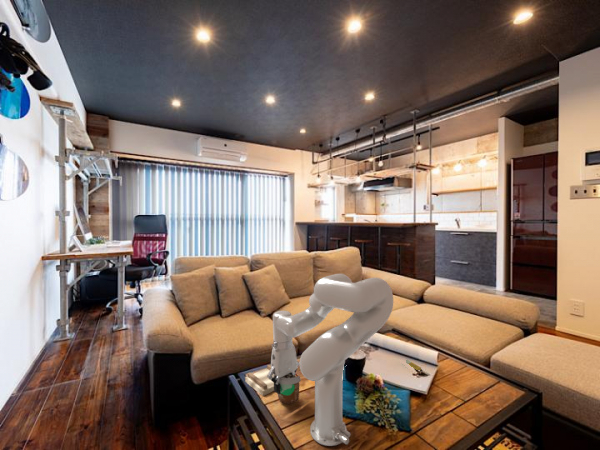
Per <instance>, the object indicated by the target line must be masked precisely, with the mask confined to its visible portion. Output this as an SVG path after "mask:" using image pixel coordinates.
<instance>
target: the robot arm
mask: <svg viewBox="0 0 600 450" xmlns="http://www.w3.org/2000/svg"><path fill="white" fill-rule="evenodd" d="M308 299H309V300H308V303H309V306H308V307H307V308H306V309H305V310H303V311H300V312H297V313H295V314H292V313H291V312H290V311H288V310H278V311H275V312H273V314H272V334H273V335H272V336H273V340H272V341H273V343H272V344H271V345H270V346H271V348H272V350H271V357H270V358H271V359H270V365H271V370H270V371H269V373H268V375H267V378H269V379H270V380H271V381H272V382H274V391H273V392H275V393H276V394H277V395H278V394H280V383H279V380H280V377H283V376H285V375H287V374H289V373H291V374H293V375H294V376H297V374H296V373H297V371H298V368H299V371H300V372H301V374H302V375H303V377H304V378H305V379H307V380H309V381H311V382H314V420H313V421H312V422H311V424H310V428H309V430H310V431H309V433H310V435H311V437H312V439H313V440H314V442H315V441H316V442H317V443H318V444H320V445H322V446H326V447H327V446H328V447H333V446H337V445H340V444H345V445H349V443H350V437H351V432H349V431H348V429H347V427H346V422H345V421H343V387H344V386H343V384H344V383H343V382H344V381H343V370H344V364H345V363H346V360H347V359H348V358H350V357H352V355H353V354H355V353H356V352H357V351H358V350H359V348H361V347H362V345H363V344H365V343H366V342H367V341H368V340H370V339H371V338H372V337H373V336H374V335H375V334H376V333H377V332H379V331H380V330H381V328H383V326H384V325H385V324H386V323H387V322H388V319H389V318H390V317H391V315H392V312H393V309H394V296H393V290H392V288H391V286H390V285H389V283H388V282H387V281H386V280H385V279H382V278H380V277H369V278H366V279H363V280H359V281H357V282H353V281H352V279H351V278H350V277H349V276H348V275H346V274H344V273H334V274H330V275H327V276H323V277H322V278H320V279H318V280H317V281H316V283H315V284H314V286H313V293H312V294H311V295H310V296H309V298H308ZM335 309H338V310H341V311H346V312H350V313H353V314H351V315H350V316H349V317H348V318H347V319H346V320H345V321H344V322H342V323H341V324H338V325H337V326H335V327H333V328H331V329H329V330H327V331H325V332H324V333H322V334H321V335H320V336H318V338H316V339H314V341H313V342H312V343H311V344H310V345H309V346H308V347H307V348H306V349H305V350H304V351H303V352H302V354H301V355H300V358H299V361H298V358H297V352H296V347H295V345H294V344H293V338H296V337H298V336H301V335H303V334H305V333H307V332H309V331H311V330H313V329H314V328H316V327H317V326H318V325H319V324H320V323H322V322H323V321H324V320H325V319H326V317H327V316H328V314H329V313H331V312H332V311H333V310H335ZM273 374H274V376H273V377H272V375H273ZM276 377H277V379H276Z"/></svg>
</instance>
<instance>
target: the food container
mask: <svg viewBox="0 0 600 450" xmlns="http://www.w3.org/2000/svg"><path fill="white" fill-rule="evenodd" d="M276 379H277V377H276ZM301 381H302V379H301V376H300V375H295V376H294V375H293V374H291V373H289V374H287V375H285V376H283V377H280V380H279V383H280V394H277V398H278V401H280V402H281V403H284V404H293V403H297V402H298V401H299V400H300V383H301Z"/></svg>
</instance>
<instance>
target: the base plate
mask: <svg viewBox="0 0 600 450" xmlns="http://www.w3.org/2000/svg"><path fill="white" fill-rule="evenodd" d="M270 370H271V363H270V364H266V368H263V369H261V370H259V371H256V372H254V373H253V372H248V373H247V376H245V377H244V380H245V381H244V382H245V383H246V384H247V385H249V386H250V387H251V388H252V389H254V390H255V391H256V392H257V393H258V394H259V395H261V396H262V397H264V396H266V395H268V394H270V393H272V392H275V391H274V382H272V381H271V380H270V379H269V378H267V375H268V373H269V371H270ZM273 376H274V374H273V375H272V377H273Z"/></svg>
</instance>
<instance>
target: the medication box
mask: <svg viewBox="0 0 600 450" xmlns="http://www.w3.org/2000/svg"><path fill="white" fill-rule="evenodd" d="M406 363H407V364H409V365H410V366H411V367H413V368H414V369H416V370H422V367H421V366H419V365H418V364H415V362H412V361H411V360H409V359H407V360H406Z"/></svg>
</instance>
